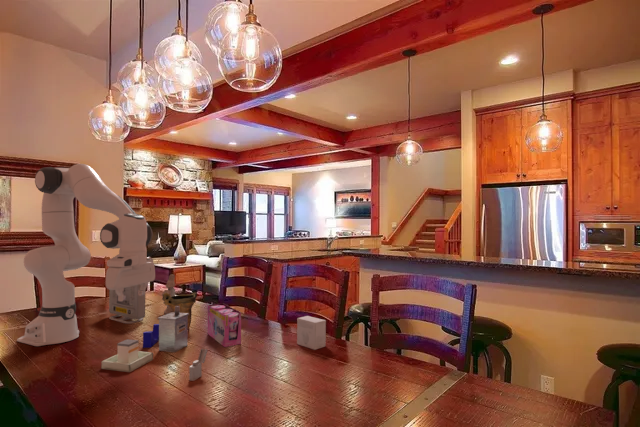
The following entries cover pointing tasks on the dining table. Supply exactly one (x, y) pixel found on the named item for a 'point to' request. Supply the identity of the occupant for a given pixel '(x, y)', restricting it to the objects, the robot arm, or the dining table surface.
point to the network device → (127, 305)
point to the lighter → (197, 366)
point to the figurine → (169, 291)
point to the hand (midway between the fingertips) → (131, 297)
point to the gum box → (224, 324)
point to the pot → (181, 303)
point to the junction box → (173, 331)
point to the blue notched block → (151, 337)
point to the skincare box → (311, 332)
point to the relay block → (127, 351)
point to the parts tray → (114, 365)
